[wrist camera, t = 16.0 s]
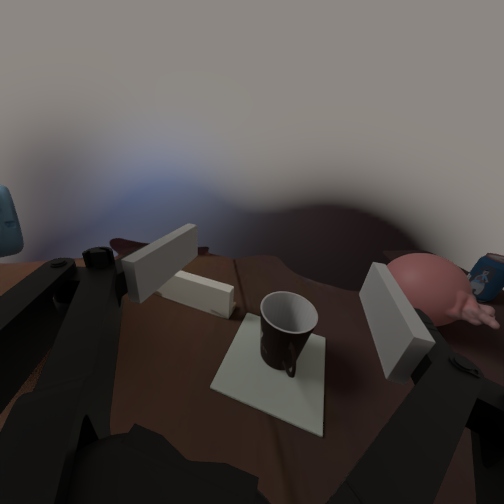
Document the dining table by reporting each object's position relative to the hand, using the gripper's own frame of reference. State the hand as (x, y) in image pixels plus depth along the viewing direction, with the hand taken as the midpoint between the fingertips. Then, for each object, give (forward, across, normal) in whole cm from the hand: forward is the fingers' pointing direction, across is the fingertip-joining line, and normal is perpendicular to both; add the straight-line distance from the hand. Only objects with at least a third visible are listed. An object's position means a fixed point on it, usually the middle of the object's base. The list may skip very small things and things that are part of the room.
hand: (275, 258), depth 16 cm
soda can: (+49, +52, -23) cm, 75 cm away
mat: (+10, +2, -24) cm, 27 cm away
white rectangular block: (+18, -18, -24) cm, 35 cm away
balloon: (+30, +30, -24) cm, 49 cm away
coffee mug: (+10, +2, -24) cm, 26 cm away
